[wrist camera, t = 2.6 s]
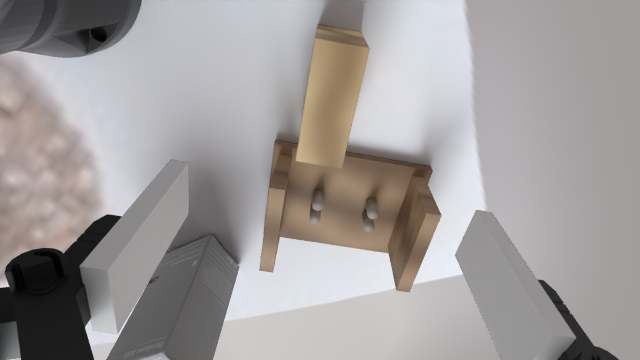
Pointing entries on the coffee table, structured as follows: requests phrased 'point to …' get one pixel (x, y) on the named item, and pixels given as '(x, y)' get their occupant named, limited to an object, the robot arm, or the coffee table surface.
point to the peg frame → (352, 208)
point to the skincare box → (181, 306)
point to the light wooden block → (331, 95)
